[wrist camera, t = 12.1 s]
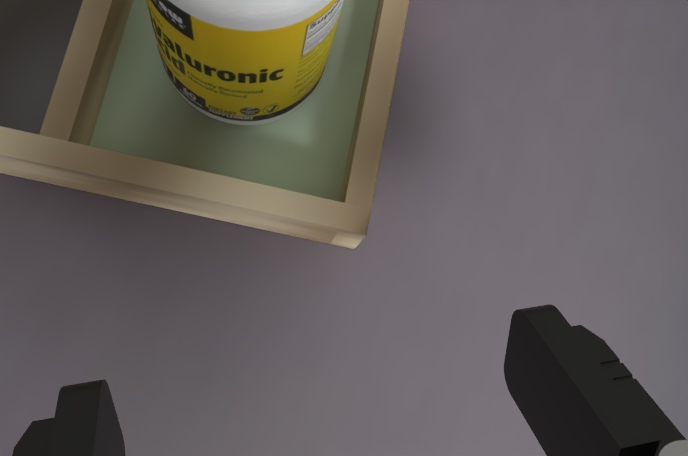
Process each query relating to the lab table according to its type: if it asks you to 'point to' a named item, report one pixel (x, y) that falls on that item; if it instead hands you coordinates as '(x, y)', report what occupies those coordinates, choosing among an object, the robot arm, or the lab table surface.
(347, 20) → the wooden compartment tray
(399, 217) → the lab table surface
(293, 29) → the supplement bottle
